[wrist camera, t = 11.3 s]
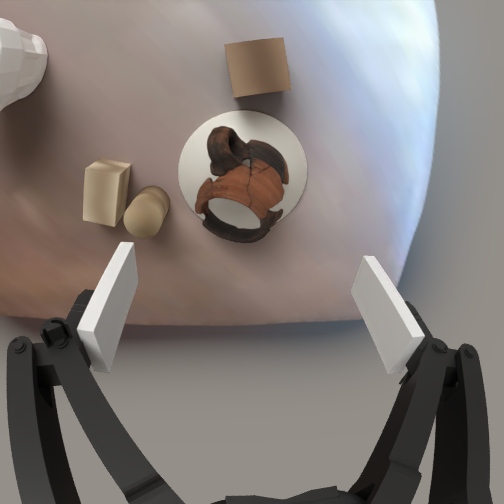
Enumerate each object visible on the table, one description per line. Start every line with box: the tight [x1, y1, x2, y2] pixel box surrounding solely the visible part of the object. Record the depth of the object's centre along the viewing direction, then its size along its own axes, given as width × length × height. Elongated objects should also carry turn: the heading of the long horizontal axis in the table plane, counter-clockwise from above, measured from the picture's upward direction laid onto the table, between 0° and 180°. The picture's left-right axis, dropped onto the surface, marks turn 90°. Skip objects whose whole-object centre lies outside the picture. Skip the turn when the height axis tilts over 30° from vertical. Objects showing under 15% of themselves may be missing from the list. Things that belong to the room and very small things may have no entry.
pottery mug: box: [195, 126, 289, 243], centre depth 29 cm, size 12×10×8 cm
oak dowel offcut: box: [124, 186, 170, 239], centre depth 31 cm, size 4×4×5 cm
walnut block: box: [225, 37, 291, 98], centre depth 24 cm, size 5×5×5 cm
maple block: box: [83, 159, 131, 227], centre depth 30 cm, size 4×6×4 cm, turn 164°
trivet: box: [178, 110, 307, 229], centre depth 32 cm, size 14×14×1 cm
